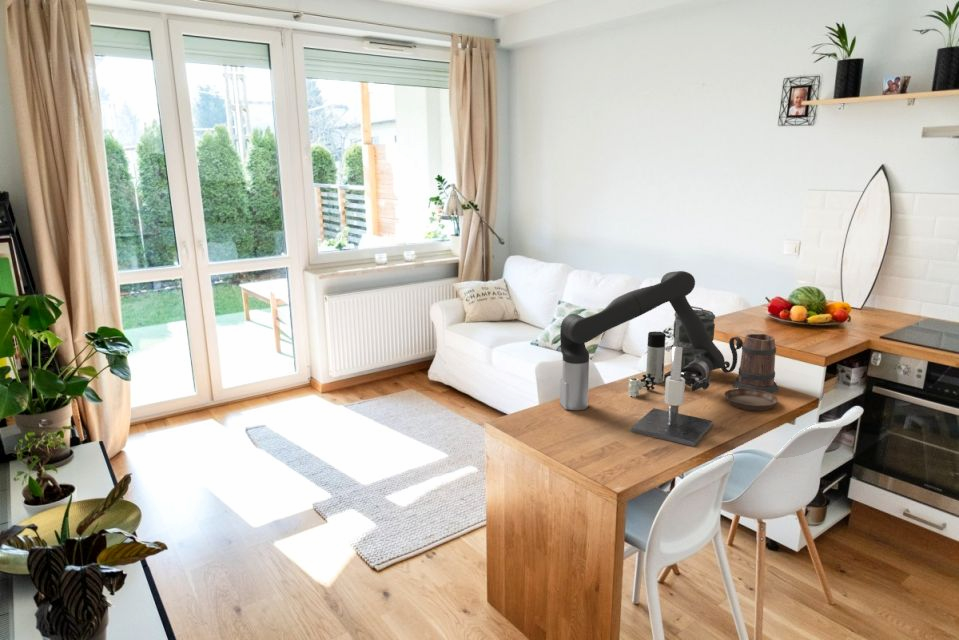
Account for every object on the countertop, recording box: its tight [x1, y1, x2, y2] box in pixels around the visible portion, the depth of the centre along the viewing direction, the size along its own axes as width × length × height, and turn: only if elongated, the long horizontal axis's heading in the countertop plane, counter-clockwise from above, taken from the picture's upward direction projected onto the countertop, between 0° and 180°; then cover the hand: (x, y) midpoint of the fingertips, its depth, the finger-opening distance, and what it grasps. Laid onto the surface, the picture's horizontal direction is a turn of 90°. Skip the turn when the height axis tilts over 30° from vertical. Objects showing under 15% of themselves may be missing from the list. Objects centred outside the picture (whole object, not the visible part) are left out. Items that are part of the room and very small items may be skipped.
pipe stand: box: [630, 345, 714, 447], centre depth 195 cm, size 20×20×28 cm
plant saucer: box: [723, 388, 779, 412], centre depth 218 cm, size 18×18×3 cm
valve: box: [627, 374, 658, 398], centre depth 230 cm, size 7×7×12 cm
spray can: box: [645, 331, 666, 385], centre depth 241 cm, size 7×7×20 cm
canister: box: [672, 305, 716, 371], centre depth 250 cm, size 16×16×28 cm
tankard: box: [720, 333, 780, 394], centre depth 237 cm, size 24×17×20 cm
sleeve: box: [664, 376, 686, 406], centre depth 195 cm, size 5×5×8 cm
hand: (680, 386), depth 199 cm, fingers open, 8 cm apart
